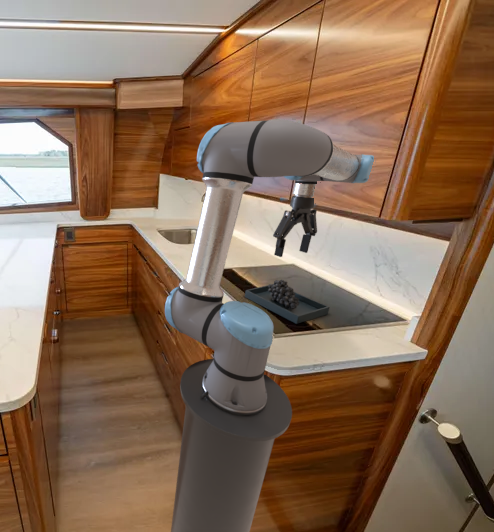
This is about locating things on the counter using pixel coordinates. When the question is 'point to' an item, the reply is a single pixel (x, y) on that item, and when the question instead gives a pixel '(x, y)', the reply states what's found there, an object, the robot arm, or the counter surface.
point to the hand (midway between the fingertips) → (290, 253)
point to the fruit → (283, 294)
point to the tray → (300, 314)
